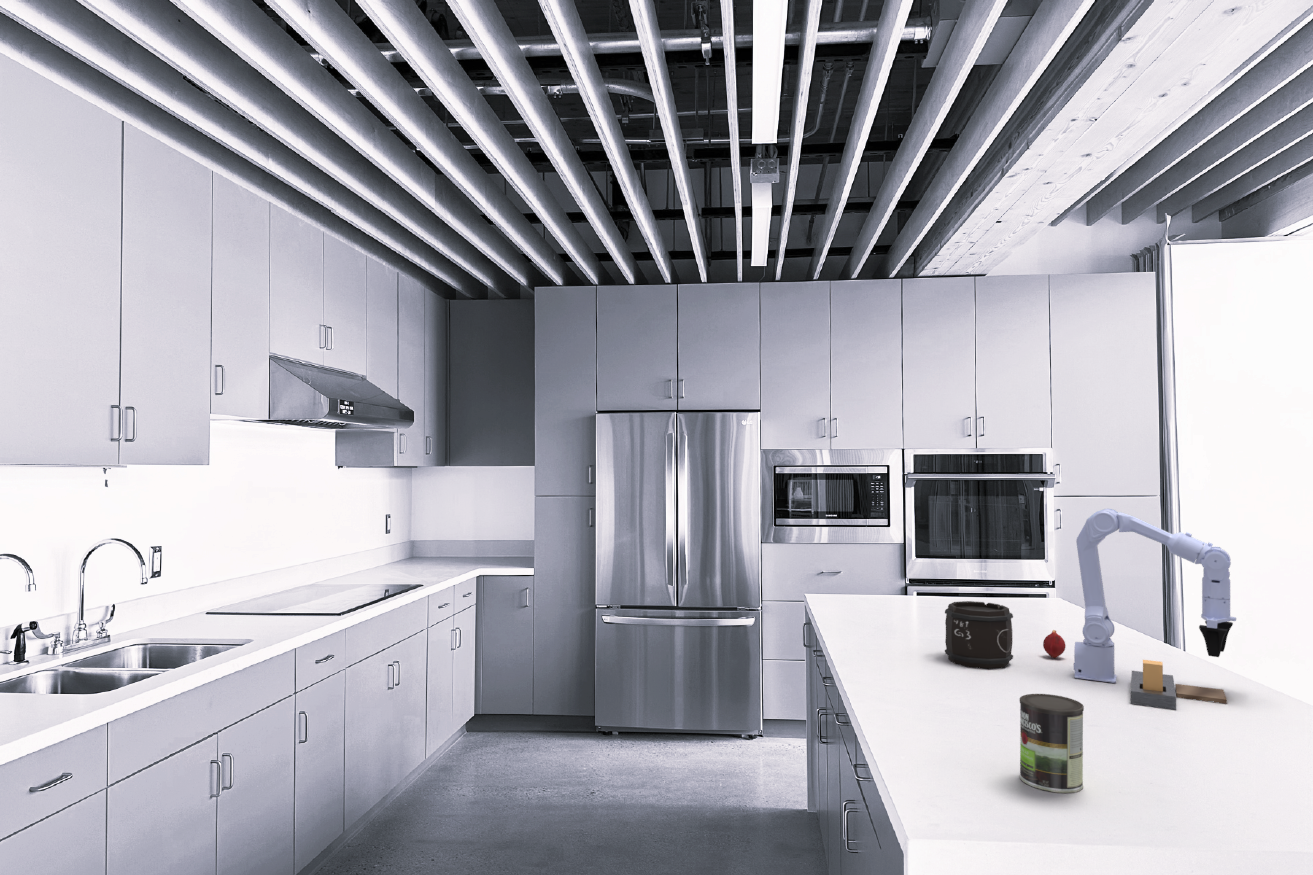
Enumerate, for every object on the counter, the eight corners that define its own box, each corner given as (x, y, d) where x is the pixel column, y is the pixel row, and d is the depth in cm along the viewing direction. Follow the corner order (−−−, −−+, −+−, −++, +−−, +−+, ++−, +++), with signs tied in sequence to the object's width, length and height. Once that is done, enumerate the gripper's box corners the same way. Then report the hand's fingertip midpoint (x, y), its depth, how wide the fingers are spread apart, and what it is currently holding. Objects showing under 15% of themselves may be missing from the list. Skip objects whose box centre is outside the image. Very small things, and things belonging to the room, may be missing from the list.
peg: (1143, 701, 198) (1142, 662, 198) (1143, 697, 201) (1142, 659, 201) (1162, 703, 196) (1162, 665, 196) (1162, 699, 199) (1162, 661, 199)
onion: (1068, 661, 237) (1067, 632, 237) (1046, 659, 238) (1046, 631, 238) (1062, 656, 242) (1062, 628, 242) (1041, 655, 243) (1041, 627, 244)
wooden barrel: (1010, 657, 241) (1010, 602, 241) (1015, 672, 224) (1015, 613, 224) (944, 652, 247) (944, 598, 247) (944, 666, 230) (944, 608, 230)
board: (1176, 697, 201) (1176, 693, 201) (1175, 687, 210) (1175, 683, 210) (1226, 703, 196) (1226, 699, 196) (1223, 693, 205) (1223, 689, 205)
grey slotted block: (1130, 703, 196) (1130, 690, 196) (1131, 682, 215) (1131, 670, 215) (1176, 709, 191) (1175, 696, 191) (1173, 687, 210) (1172, 675, 210)
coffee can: (1039, 794, 142) (1039, 710, 143) (1008, 771, 152) (1008, 693, 153) (1096, 792, 143) (1096, 709, 143) (1062, 770, 153) (1062, 692, 154)
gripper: (1231, 603, 196) (1232, 661, 196) (1239, 595, 207) (1239, 651, 207) (1196, 599, 201) (1196, 656, 200) (1205, 592, 211) (1206, 646, 211)
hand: (1216, 653), depth 204 cm, fingers open, 7 cm apart
